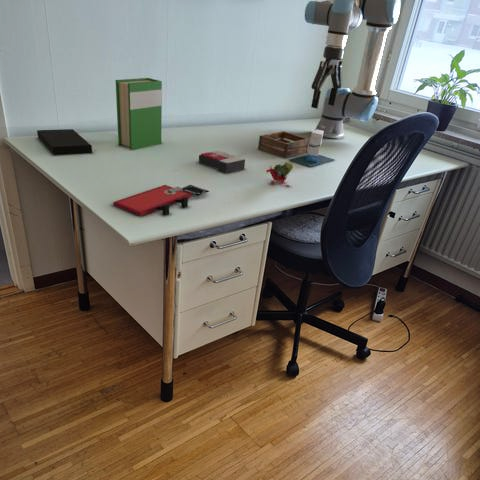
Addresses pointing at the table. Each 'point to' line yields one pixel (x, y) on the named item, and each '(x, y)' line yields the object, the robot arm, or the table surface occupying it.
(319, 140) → the ink box
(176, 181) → the table surface
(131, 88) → the hardback book
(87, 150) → the external hard drive
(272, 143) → the crate
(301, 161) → the mat
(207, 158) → the calculator
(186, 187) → the red board with handle
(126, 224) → the table surface
